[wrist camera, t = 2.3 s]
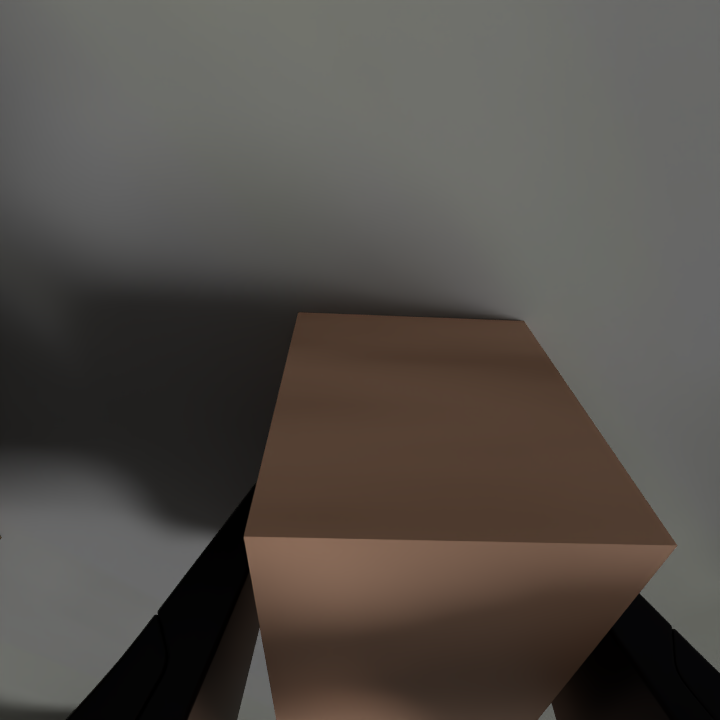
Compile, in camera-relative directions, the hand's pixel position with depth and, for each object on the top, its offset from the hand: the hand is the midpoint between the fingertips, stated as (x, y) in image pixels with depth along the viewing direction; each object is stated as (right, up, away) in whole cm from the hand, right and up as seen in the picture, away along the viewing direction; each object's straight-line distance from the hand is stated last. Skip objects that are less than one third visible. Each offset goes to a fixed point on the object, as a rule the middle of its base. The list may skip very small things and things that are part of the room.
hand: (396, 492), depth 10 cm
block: (0, +1, +1) cm, 1 cm away
